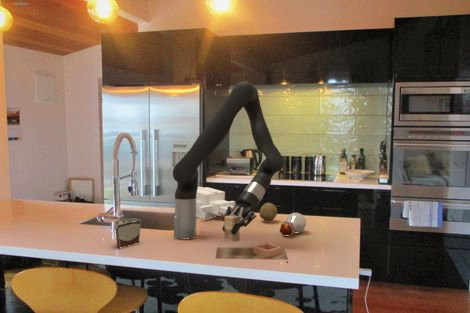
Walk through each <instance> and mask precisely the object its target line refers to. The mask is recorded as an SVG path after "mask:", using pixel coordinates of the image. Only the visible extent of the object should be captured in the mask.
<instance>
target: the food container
mask: <svg viewBox="0 0 470 313" xmlns="http://www.w3.org/2000/svg"><path fill="white" fill-rule="evenodd" d="M142 224H143V222H142V220H141V218H122V219H118V220H116V221H115V222H114V224H113V228H114V229H115V238H116V246H118V247H119V248H118V247H117V248H118V249H121V248H120V247H124V246H128V245H132V244H135V243H139V244H140V236H141V235H140V234H141V225H142ZM132 246H133V245H132ZM128 247H129V246H128ZM124 248H125V247H124Z"/></svg>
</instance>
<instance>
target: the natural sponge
mask: <svg viewBox="0 0 470 313" xmlns="http://www.w3.org/2000/svg"><path fill="white" fill-rule="evenodd" d="M277 214H278V208H277V206H276V205H275V204H273V203H271V202H266V203H264V204H263V205H262V206H261V207H260V209H259V217H260V218H261V219H263V221H264V222H266V221H271V222H272V221H273V220H274V219H275V218H276V217H277Z"/></svg>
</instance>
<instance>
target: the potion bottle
mask: <svg viewBox="0 0 470 313" xmlns="http://www.w3.org/2000/svg"><path fill="white" fill-rule="evenodd" d="M306 226H307V219H306V218H305V217H304V215H303V214H301V213H299V212H292V213H290V214H289V215H287V217H286V219H285V221H283V222H282V223H281V224H280V227H279V231H278V232H279V233H280V234H281V235H282V236H284V235H290V236H292V235H294V233H295V232H300V233H302V232H303V231H305V229H306Z"/></svg>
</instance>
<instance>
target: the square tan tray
mask: <svg viewBox="0 0 470 313" xmlns="http://www.w3.org/2000/svg"><path fill="white" fill-rule="evenodd" d="M252 248H253V253H254V254H257V255H260V256H264V257H267V258H269V257H273V256H276V255H279V254H282V248H283V246H279V245H276V244H271V243H268V242H264V243H262V244H258V245H254V246H252Z"/></svg>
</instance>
